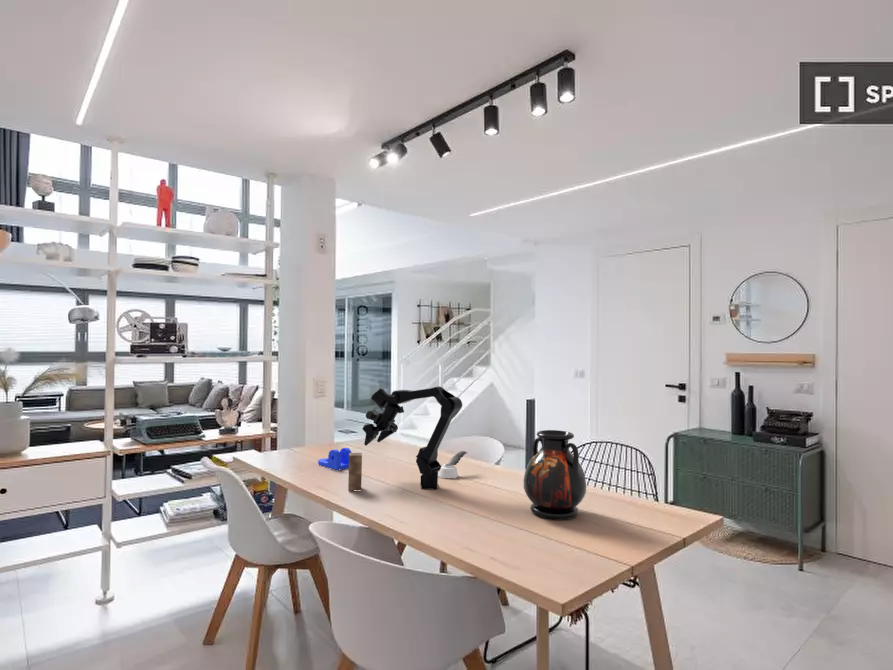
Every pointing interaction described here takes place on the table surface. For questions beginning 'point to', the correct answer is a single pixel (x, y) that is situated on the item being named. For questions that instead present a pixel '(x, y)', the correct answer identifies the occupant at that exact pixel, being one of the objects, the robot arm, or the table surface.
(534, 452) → the amphora vase
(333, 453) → the bracket
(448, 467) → the inkwell
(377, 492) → the table surface
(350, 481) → the walnut block
